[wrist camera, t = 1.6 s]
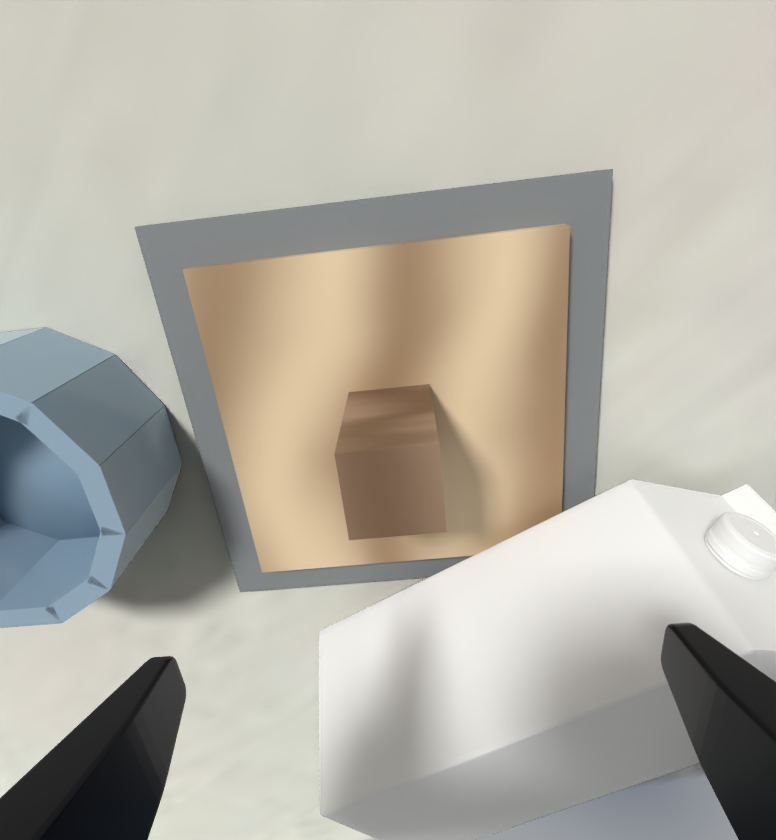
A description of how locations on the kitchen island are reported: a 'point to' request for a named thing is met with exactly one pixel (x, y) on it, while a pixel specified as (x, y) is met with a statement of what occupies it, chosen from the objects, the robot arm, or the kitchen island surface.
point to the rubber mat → (370, 226)
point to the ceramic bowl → (74, 473)
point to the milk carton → (538, 664)
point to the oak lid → (392, 393)
